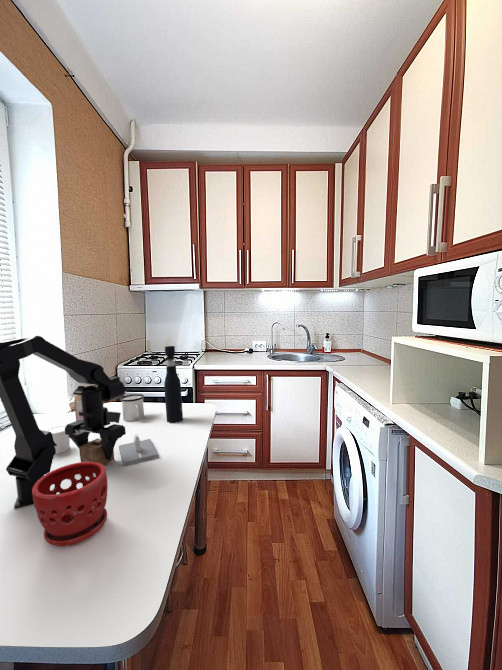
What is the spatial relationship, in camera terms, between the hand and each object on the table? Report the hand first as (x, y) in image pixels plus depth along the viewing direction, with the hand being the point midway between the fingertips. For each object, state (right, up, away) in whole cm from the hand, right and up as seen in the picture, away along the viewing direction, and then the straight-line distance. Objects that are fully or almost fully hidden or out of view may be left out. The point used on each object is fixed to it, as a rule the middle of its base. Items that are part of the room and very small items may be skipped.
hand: (97, 457), depth 98 cm
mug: (-3, +1, +40) cm, 40 cm away
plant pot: (+10, -4, -31) cm, 32 cm away
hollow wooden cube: (0, -2, 0) cm, 2 cm away
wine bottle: (+15, +2, +35) cm, 38 cm away
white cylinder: (-18, -2, +11) cm, 21 cm away
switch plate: (+10, -1, +6) cm, 12 cm away
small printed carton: (-21, 0, +36) cm, 41 cm away
